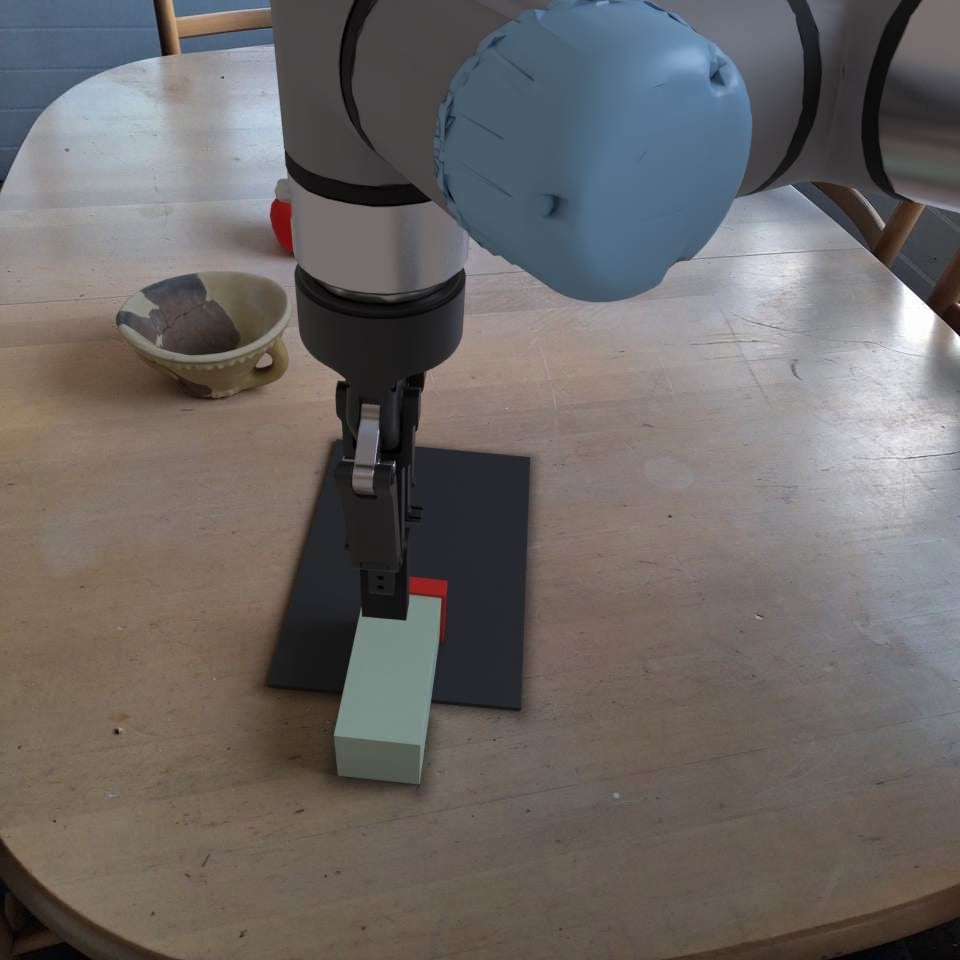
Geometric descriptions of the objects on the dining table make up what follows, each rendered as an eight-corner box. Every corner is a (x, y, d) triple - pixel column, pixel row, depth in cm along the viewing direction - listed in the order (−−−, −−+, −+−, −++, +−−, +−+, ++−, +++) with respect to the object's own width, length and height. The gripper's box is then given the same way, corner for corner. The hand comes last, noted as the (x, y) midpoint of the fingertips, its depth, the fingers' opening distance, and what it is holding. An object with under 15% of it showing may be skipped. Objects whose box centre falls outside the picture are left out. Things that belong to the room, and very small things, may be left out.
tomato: (293, 225, 126) (288, 167, 120) (359, 242, 124) (358, 183, 118) (258, 254, 120) (251, 194, 114) (326, 273, 117) (323, 212, 112)
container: (425, 743, 61) (447, 580, 71) (328, 733, 61) (364, 571, 71) (423, 787, 66) (444, 628, 76) (334, 777, 66) (366, 620, 76)
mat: (520, 710, 71) (521, 708, 71) (267, 686, 71) (267, 684, 71) (529, 459, 93) (530, 456, 93) (336, 441, 93) (336, 438, 93)
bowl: (322, 350, 105) (317, 277, 98) (260, 447, 92) (250, 370, 85) (180, 323, 107) (167, 250, 100) (100, 414, 94) (78, 336, 87)
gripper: (324, 189, 44) (343, 528, 60) (258, 335, 35) (302, 693, 50) (476, 203, 44) (455, 538, 60) (453, 352, 34) (436, 705, 50)
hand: (385, 609), depth 55 cm, fingers closed
